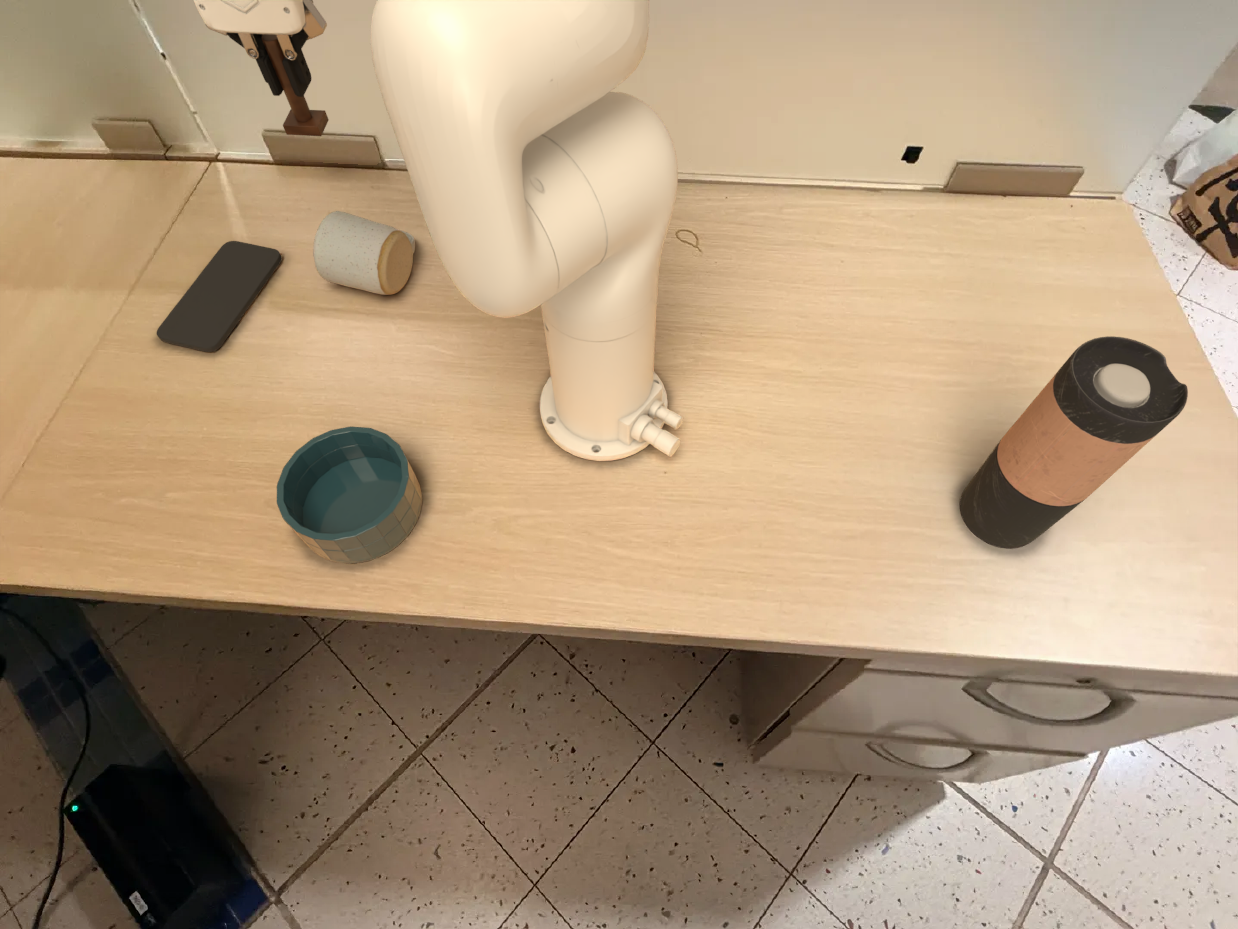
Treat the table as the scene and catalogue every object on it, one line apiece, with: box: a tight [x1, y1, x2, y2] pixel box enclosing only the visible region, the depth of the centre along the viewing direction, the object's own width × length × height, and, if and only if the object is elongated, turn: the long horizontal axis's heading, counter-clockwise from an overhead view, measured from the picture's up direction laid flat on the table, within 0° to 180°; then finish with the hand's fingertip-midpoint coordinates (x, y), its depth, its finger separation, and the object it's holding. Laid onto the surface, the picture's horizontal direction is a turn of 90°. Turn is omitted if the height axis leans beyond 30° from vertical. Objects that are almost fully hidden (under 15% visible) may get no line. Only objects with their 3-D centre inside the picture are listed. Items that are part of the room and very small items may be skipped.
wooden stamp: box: [262, 34, 330, 137], centre depth 78 cm, size 4×3×10 cm
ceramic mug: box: [312, 210, 416, 296], centre depth 79 cm, size 11×8×8 cm
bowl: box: [276, 426, 423, 564], centre depth 65 cm, size 11×11×5 cm
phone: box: [156, 240, 283, 353], centre depth 80 cm, size 7×1×15 cm
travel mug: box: [959, 335, 1189, 549], centre depth 58 cm, size 8×8×20 cm
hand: (292, 87), depth 79 cm, fingers closed on wooden stamp
